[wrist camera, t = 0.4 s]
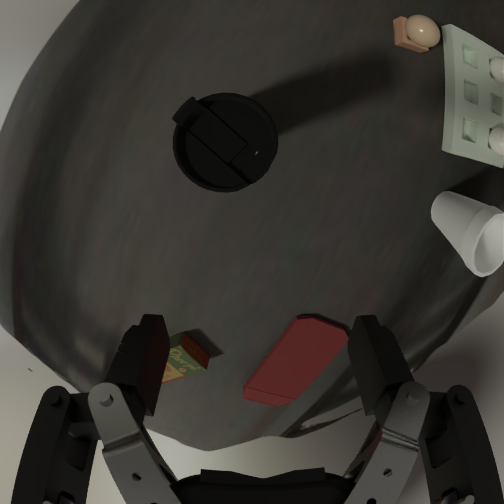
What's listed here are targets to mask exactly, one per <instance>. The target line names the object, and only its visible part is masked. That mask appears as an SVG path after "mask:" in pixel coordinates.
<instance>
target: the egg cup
mask: <svg viewBox="0 0 504 504" xmlns="http://www.w3.org/2000/svg"><path fill="white" fill-rule="evenodd" d="M406 21H407V18H405V17H402V16H401V17H399V18H397V19H395V20H393V25H394V38H395V45H397V46H400V47H403V48H407V49H410V50H413V51H416V52H419V53H421V52H425V51H429V49H428V47H422V46H419V45H417V44H415V43H414V42H413V41H412V40H411V39H410V38H409V37H408V35H407V33H406V30H405V23H406Z"/></svg>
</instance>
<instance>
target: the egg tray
mask: <svg viewBox="0 0 504 504" xmlns="http://www.w3.org/2000/svg"><path fill="white" fill-rule="evenodd" d="M442 35H443V45H444V59H445V116H444V131H443V142H442V150H443V151H446V152H449V153H452V154H456V155H460V156H463V157H467V158H471V159H474V160H478V161H481V162H484V163H488V164H491V165H494V166H497V167H500V168H503V165H504V157H500V156H498V155H496V154H495V153H494V152H493V151H492V149H491V147H490V145H489V134H490V132H491V130H492V129H494V128H496V127H501V128H504V85H503V84H501V83H499V82H498V81H496V80H495V79H494V77H493V76H492V74H491V71H490V62H491V60H492V59H493V58H495V57H502V58H504V55H503V54H501V53H500V52H498V51H497V50H495V49H494V48H492V47H491V46H489V45H488V44H486V43H484V42H483V41H481V40H479V39H478V38H476V37H474V36H472V35H471V34H469V33H467V32H465V31H463V30H462V29H460V28H458V27H456V26H454V25H452V24H448V25H445V26H442Z"/></svg>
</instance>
